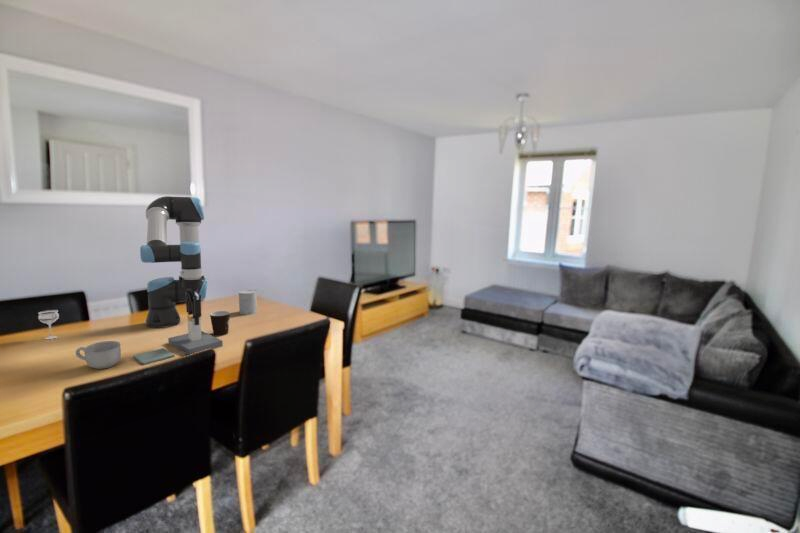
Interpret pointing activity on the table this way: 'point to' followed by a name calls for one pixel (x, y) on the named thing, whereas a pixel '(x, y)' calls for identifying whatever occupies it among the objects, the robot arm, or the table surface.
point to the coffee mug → (220, 322)
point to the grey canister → (247, 302)
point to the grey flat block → (194, 343)
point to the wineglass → (49, 319)
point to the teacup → (101, 354)
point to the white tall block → (192, 336)
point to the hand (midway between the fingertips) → (194, 330)
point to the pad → (153, 356)
